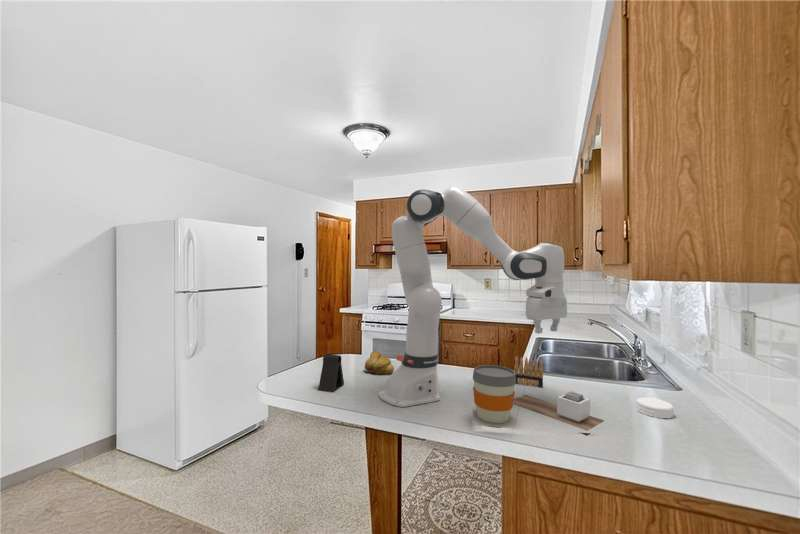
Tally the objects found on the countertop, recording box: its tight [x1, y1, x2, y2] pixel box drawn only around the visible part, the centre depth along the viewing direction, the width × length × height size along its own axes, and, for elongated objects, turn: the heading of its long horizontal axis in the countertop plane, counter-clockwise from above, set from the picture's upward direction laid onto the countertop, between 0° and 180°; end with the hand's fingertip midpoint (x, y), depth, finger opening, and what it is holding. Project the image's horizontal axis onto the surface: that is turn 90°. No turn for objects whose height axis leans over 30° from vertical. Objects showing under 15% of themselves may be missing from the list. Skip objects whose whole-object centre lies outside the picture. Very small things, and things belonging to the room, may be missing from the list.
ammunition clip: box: [513, 355, 544, 389], centre depth 139 cm, size 11×2×12 cm, turn 67°
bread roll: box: [364, 350, 395, 375], centre depth 155 cm, size 13×10×8 cm
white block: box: [556, 393, 591, 421], centre depth 110 cm, size 7×7×6 cm
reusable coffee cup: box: [472, 364, 517, 429], centre depth 109 cm, size 13×13×15 cm
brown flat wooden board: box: [513, 391, 605, 437], centre depth 115 cm, size 11×26×8 cm, turn 39°
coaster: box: [635, 396, 675, 419], centre depth 120 cm, size 10×10×4 cm
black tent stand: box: [317, 353, 345, 393], centre depth 135 cm, size 9×6×12 cm, turn 163°
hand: (546, 332), depth 124 cm, fingers open, 8 cm apart
